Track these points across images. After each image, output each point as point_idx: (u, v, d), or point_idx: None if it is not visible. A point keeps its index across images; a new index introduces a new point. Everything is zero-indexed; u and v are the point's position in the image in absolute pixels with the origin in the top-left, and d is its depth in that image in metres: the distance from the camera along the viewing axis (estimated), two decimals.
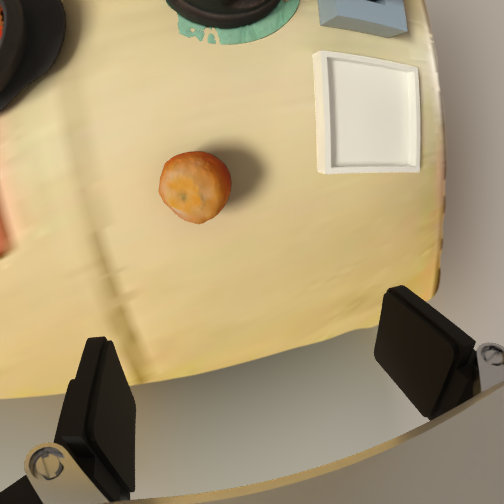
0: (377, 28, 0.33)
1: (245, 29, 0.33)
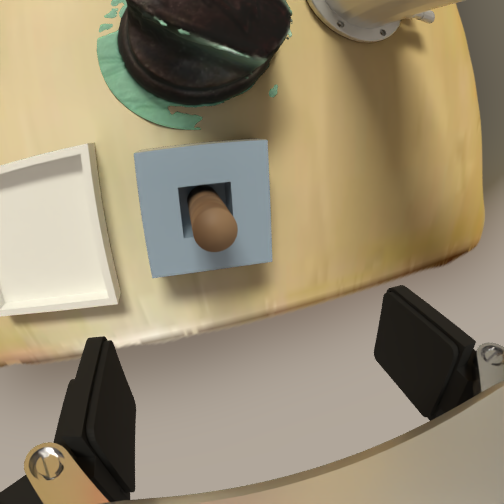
0: None
1: (117, 62, 0.25)
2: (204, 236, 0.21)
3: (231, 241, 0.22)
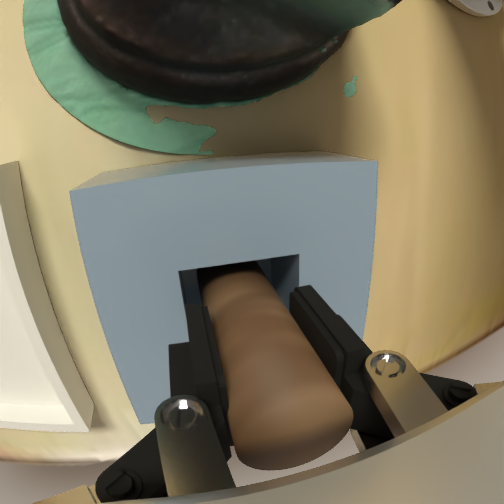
0: None
1: (55, 27, 0.10)
2: (266, 452, 0.07)
3: (330, 446, 0.07)
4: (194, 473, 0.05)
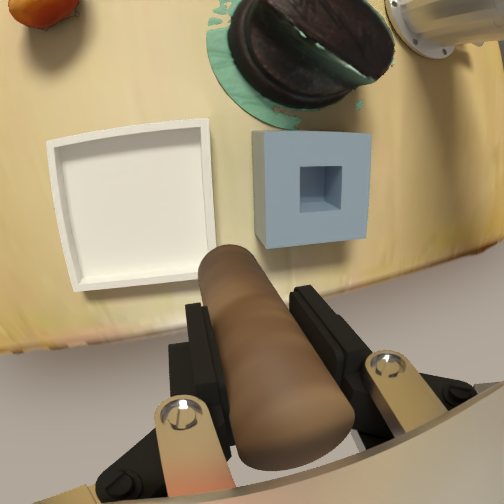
0: (260, 204, 0.31)
1: (226, 57, 0.28)
2: (268, 453, 0.07)
3: (331, 446, 0.07)
4: (194, 473, 0.05)
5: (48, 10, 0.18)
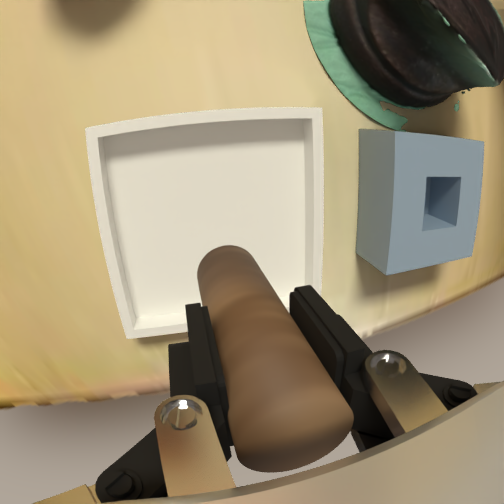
0: (377, 221, 0.24)
1: (329, 36, 0.21)
2: (266, 454, 0.07)
3: (330, 448, 0.07)
4: (194, 473, 0.05)
5: None
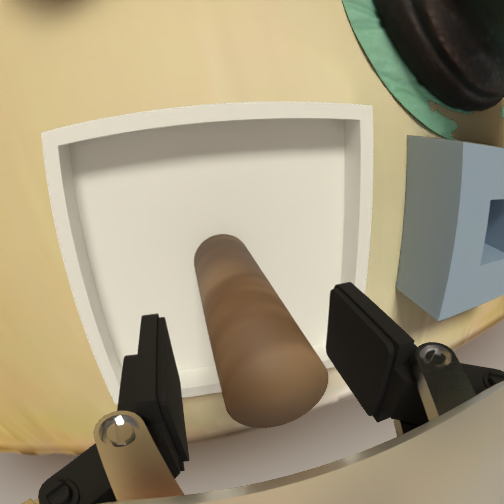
0: (430, 254, 0.18)
1: (370, 15, 0.15)
2: (252, 407, 0.08)
3: (310, 405, 0.09)
4: (142, 487, 0.04)
5: None
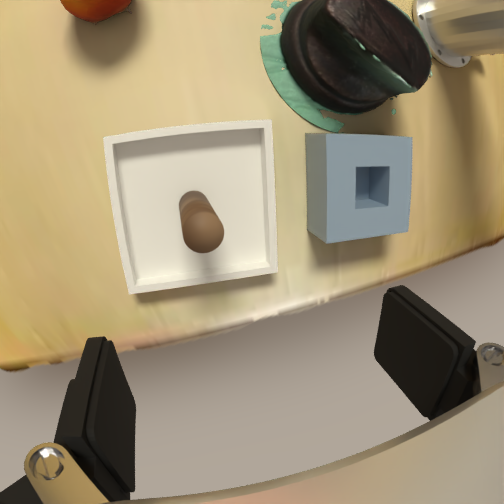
0: (318, 202, 0.33)
1: (279, 62, 0.30)
2: (193, 238, 0.23)
3: (218, 243, 0.24)
4: None
5: (108, 1, 0.19)
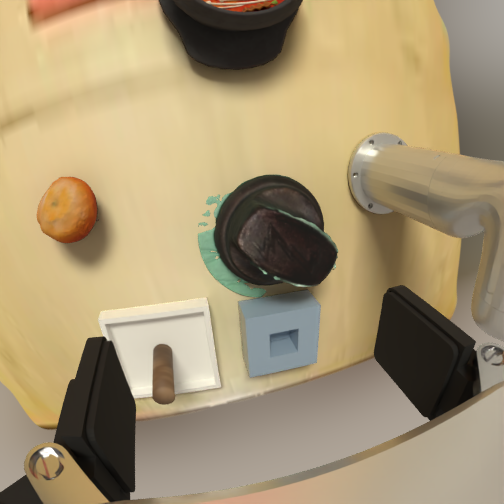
0: (245, 351, 0.48)
1: (214, 253, 0.44)
2: (158, 399, 0.38)
3: (172, 400, 0.38)
4: None
5: (78, 238, 0.34)
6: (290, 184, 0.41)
